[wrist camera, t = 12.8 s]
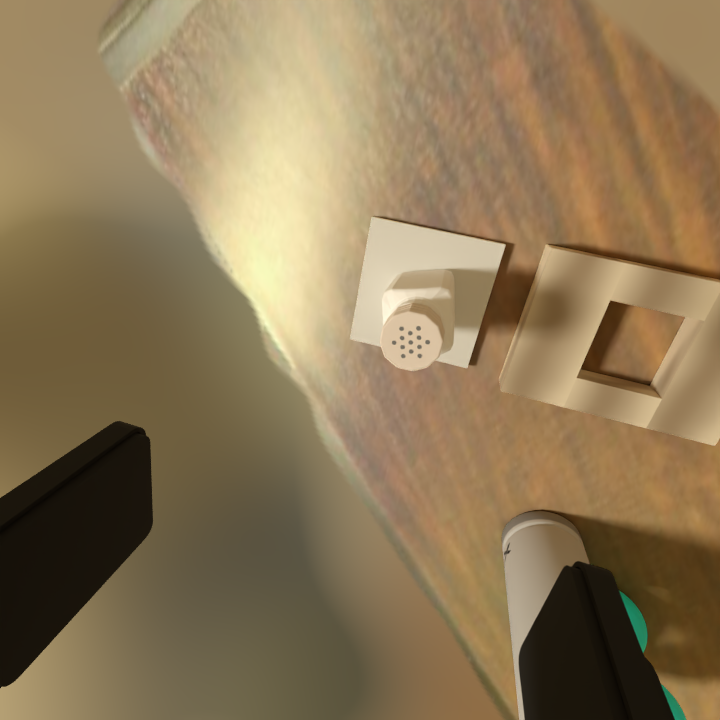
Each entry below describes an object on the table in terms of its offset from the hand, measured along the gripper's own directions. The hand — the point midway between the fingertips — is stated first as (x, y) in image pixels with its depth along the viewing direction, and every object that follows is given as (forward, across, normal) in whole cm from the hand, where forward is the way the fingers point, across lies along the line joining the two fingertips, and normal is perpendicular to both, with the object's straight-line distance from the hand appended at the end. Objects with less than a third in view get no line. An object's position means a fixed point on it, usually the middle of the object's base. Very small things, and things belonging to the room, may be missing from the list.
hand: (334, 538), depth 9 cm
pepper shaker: (+23, 0, 0) cm, 23 cm away
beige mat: (+23, 0, 0) cm, 23 cm away
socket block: (+23, -14, 0) cm, 27 cm away
